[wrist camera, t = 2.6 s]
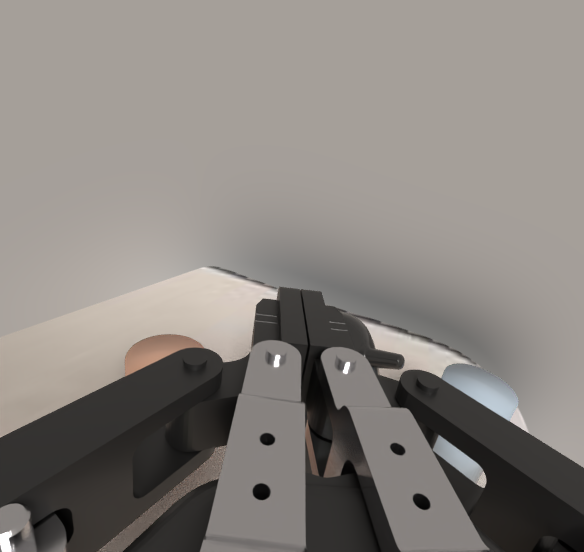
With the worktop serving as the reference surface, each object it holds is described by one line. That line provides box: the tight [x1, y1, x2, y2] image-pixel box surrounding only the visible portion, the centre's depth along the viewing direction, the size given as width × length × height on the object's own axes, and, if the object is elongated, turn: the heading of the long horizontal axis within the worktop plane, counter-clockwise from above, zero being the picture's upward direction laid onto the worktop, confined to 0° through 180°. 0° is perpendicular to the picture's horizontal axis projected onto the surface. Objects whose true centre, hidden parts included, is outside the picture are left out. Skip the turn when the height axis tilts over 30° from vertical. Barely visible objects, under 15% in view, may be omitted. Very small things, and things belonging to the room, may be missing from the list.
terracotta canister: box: [125, 334, 204, 376], centre depth 31 cm, size 6×6×10 cm
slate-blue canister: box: [433, 364, 518, 484], centre depth 34 cm, size 6×6×10 cm
